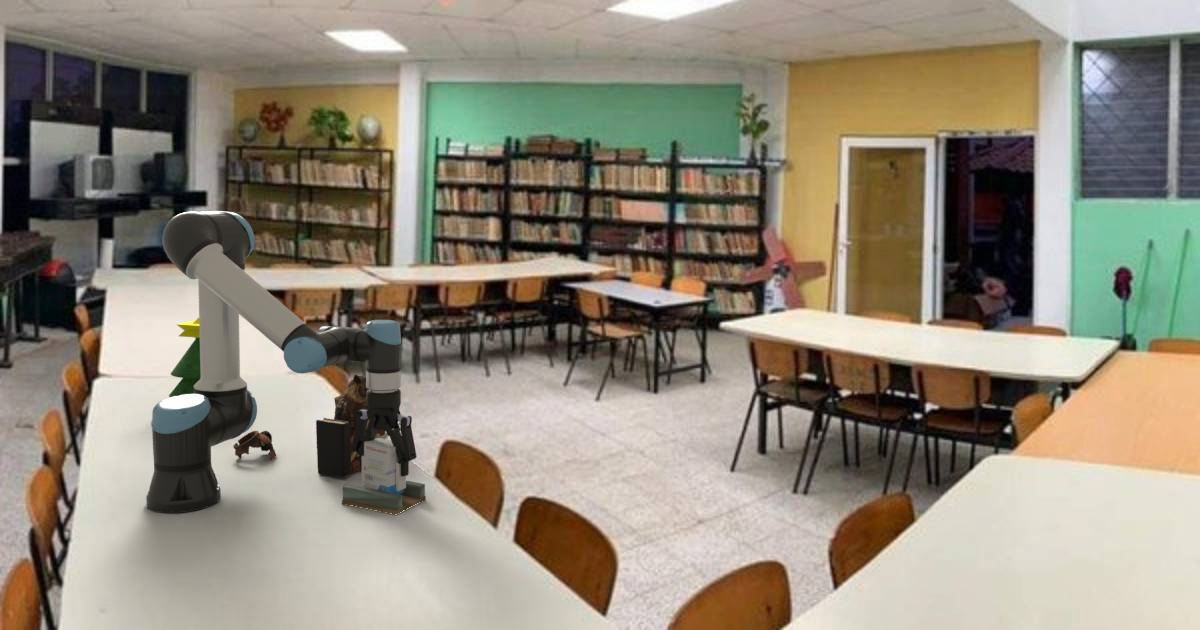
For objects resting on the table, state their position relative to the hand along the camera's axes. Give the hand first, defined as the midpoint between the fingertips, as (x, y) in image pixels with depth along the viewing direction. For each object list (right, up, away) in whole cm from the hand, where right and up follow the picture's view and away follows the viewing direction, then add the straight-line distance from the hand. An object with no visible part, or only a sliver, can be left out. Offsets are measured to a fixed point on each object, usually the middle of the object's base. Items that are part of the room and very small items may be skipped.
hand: (383, 485), depth 204 cm
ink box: (0, -2, 0) cm, 2 cm away
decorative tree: (-74, +8, +74) cm, 105 cm away
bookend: (-14, -1, +23) cm, 27 cm away
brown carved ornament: (-41, +1, +31) cm, 51 cm away
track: (0, -4, 0) cm, 4 cm away
